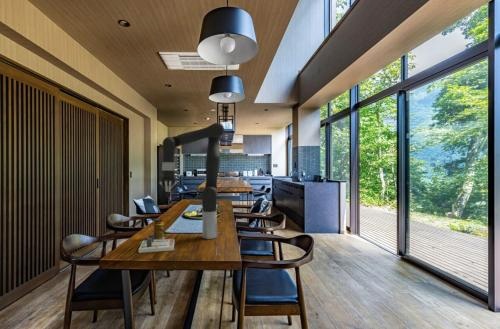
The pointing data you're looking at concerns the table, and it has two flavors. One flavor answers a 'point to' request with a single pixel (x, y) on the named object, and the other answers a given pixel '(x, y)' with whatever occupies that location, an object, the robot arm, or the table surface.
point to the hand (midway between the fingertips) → (168, 197)
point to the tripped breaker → (149, 242)
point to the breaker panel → (157, 246)
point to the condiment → (158, 229)
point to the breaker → (151, 236)
